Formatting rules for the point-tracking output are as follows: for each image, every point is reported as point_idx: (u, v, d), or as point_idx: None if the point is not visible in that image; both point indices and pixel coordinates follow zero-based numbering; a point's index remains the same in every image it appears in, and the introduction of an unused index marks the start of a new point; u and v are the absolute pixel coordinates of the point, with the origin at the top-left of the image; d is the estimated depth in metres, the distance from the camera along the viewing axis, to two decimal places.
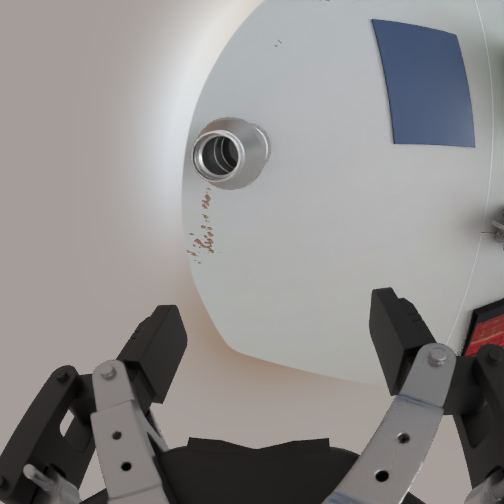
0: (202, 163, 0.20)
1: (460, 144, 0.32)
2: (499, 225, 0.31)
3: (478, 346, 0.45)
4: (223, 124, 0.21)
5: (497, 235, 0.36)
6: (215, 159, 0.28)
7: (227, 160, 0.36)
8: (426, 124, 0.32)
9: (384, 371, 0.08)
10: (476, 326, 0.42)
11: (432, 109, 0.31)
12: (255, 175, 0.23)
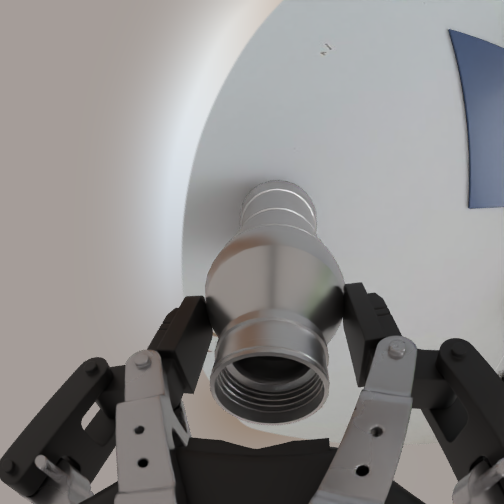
0: (231, 365, 0.09)
1: None
2: None
3: None
4: (273, 265, 0.10)
5: None
6: None
7: None
8: None
9: (353, 364, 0.09)
10: None
11: None
12: None
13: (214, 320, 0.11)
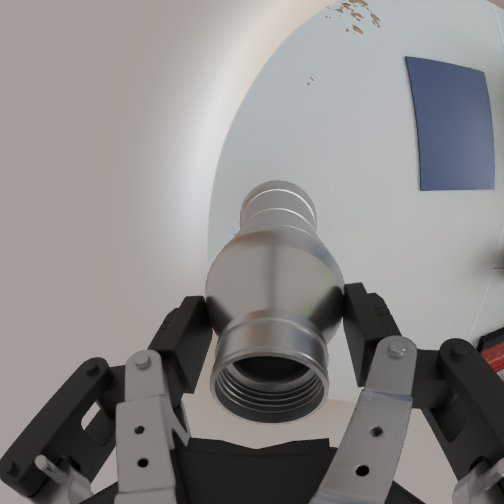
0: (231, 365, 0.09)
1: (481, 187, 0.32)
2: None
3: None
4: (273, 266, 0.10)
5: None
6: None
7: None
8: (452, 169, 0.32)
9: (354, 364, 0.09)
10: (482, 352, 0.42)
11: (458, 154, 0.31)
12: None
13: (214, 320, 0.11)
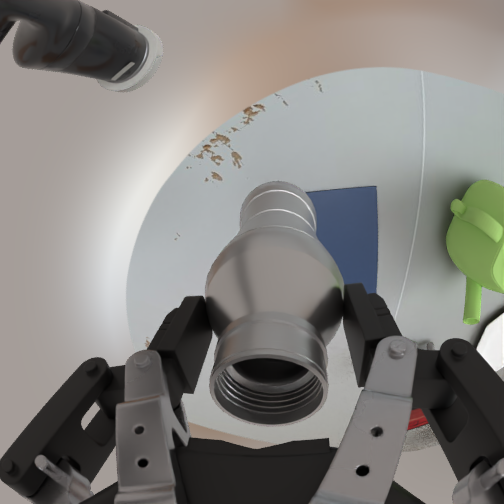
0: (231, 367, 0.09)
1: None
2: None
3: None
4: (272, 267, 0.10)
5: None
6: None
7: None
8: None
9: (354, 364, 0.09)
10: None
11: None
12: None
13: (214, 322, 0.11)
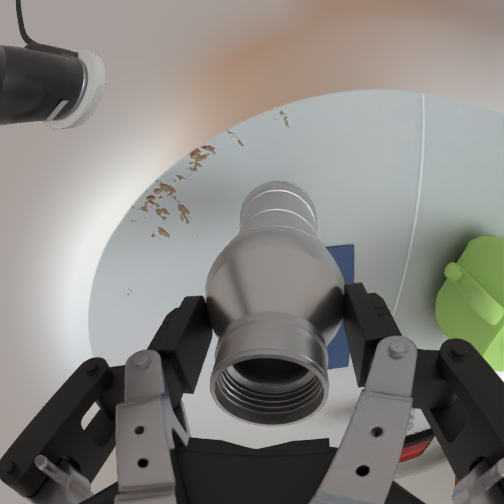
0: (231, 367, 0.09)
1: None
2: None
3: None
4: (273, 267, 0.10)
5: None
6: None
7: None
8: None
9: (354, 364, 0.09)
10: None
11: None
12: None
13: (214, 321, 0.11)
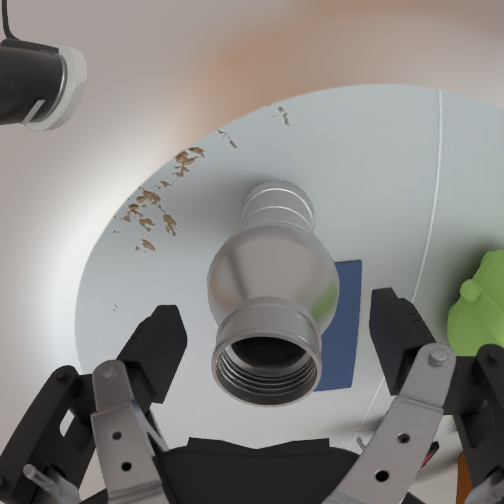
0: (231, 350, 0.10)
1: (327, 389, 0.35)
2: (362, 447, 0.34)
3: None
4: (270, 257, 0.11)
5: None
6: None
7: None
8: None
9: (384, 372, 0.08)
10: None
11: None
12: None
13: (215, 309, 0.12)
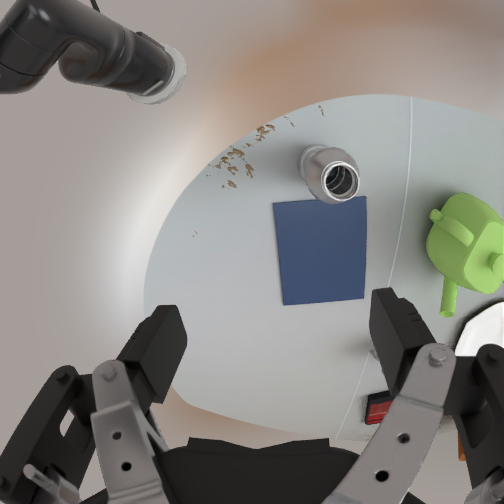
0: None
1: (347, 299, 0.52)
2: (375, 356, 0.51)
3: (379, 416, 0.65)
4: (335, 154, 0.27)
5: None
6: None
7: (302, 174, 0.42)
8: (313, 289, 0.52)
9: (384, 372, 0.08)
10: (370, 406, 0.62)
11: (320, 277, 0.51)
12: None
13: (314, 175, 0.28)
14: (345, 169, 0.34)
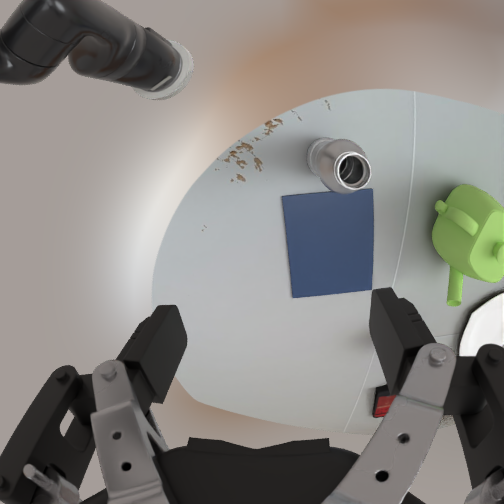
0: None
1: (355, 290, 0.52)
2: None
3: (386, 409, 0.65)
4: (346, 145, 0.28)
5: None
6: None
7: (310, 167, 0.43)
8: (322, 281, 0.52)
9: (384, 372, 0.08)
10: (378, 398, 0.63)
11: (329, 269, 0.51)
12: None
13: (326, 165, 0.29)
14: (354, 161, 0.34)
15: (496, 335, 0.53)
